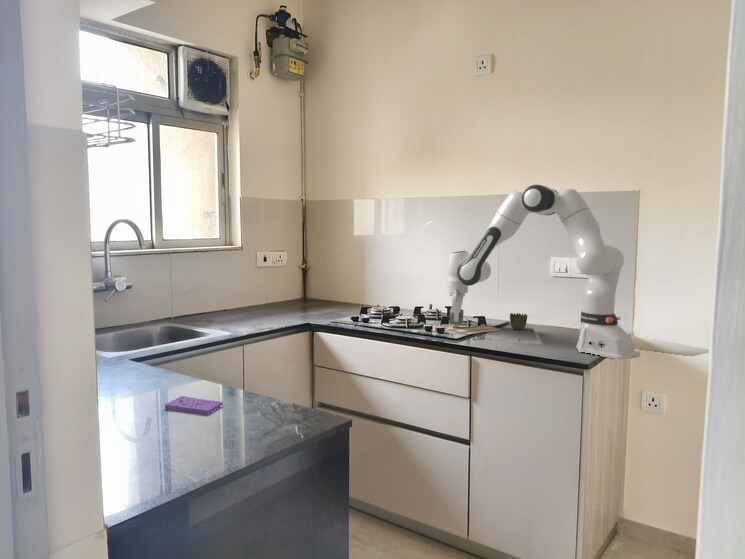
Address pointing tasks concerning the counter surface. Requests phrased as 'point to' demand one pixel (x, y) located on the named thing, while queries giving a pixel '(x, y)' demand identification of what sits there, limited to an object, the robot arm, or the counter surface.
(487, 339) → the counter surface
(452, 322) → the grey cube
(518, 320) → the cup
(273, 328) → the counter surface
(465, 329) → the board
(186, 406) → the sponges
